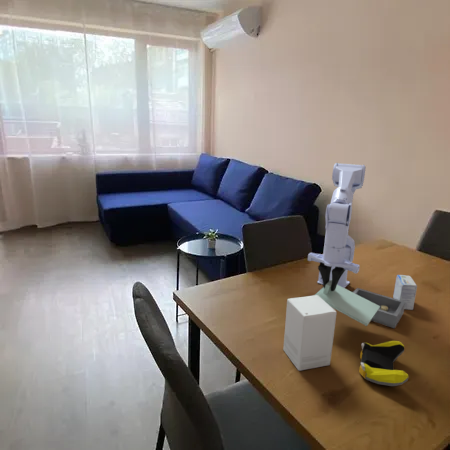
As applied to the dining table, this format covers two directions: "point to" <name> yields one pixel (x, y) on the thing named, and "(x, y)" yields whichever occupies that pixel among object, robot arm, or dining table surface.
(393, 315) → the tub
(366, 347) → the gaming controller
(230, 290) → the dining table surface
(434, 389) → the dining table surface
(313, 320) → the supplement box
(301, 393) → the dining table surface
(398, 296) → the medicine box
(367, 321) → the lid
